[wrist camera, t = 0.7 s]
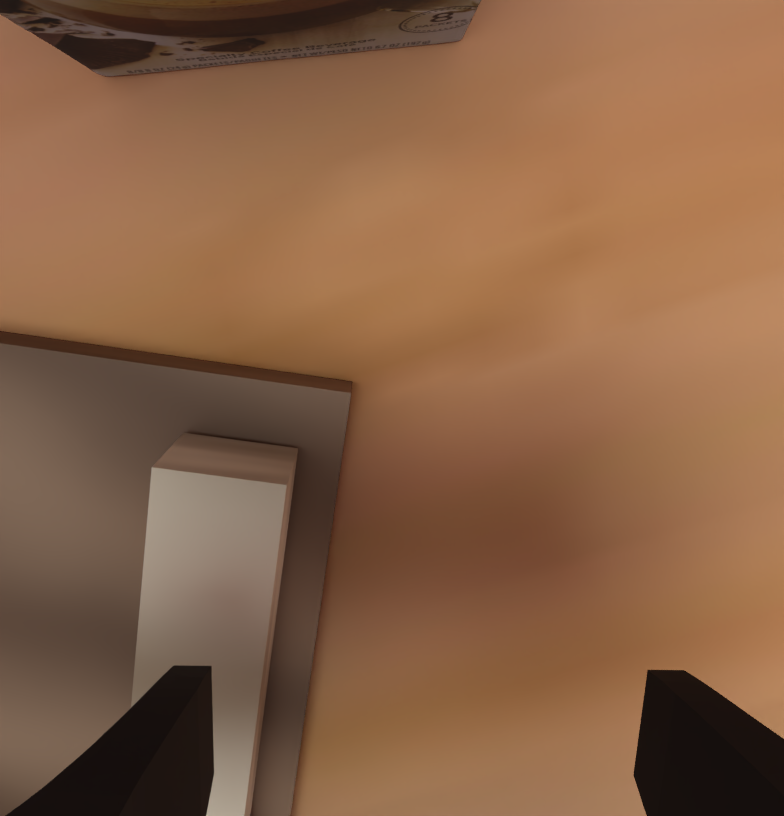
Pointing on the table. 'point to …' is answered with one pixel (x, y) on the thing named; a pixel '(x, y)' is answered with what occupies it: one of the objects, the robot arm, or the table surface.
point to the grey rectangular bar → (217, 588)
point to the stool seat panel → (136, 538)
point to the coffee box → (231, 29)
